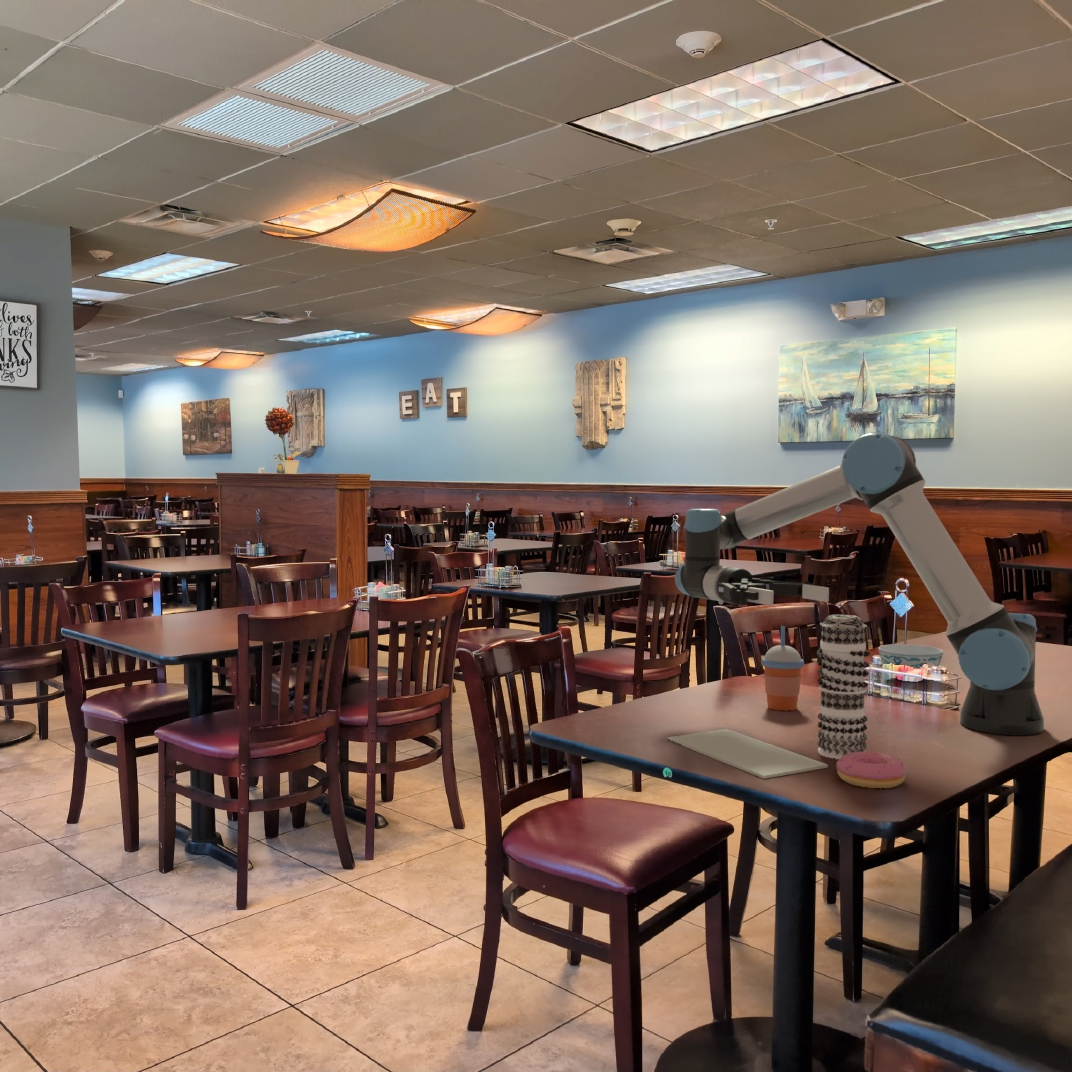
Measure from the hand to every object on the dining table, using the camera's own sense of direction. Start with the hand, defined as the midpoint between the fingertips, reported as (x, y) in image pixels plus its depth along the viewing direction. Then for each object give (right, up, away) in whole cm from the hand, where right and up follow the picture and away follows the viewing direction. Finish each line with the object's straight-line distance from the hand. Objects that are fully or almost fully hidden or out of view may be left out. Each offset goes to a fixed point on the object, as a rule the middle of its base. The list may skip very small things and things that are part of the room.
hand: (800, 596), depth 184 cm
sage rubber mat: (-12, -28, -7) cm, 31 cm away
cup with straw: (+4, -26, +28) cm, 39 cm away
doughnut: (+5, -29, -24) cm, 38 cm away
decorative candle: (+5, -28, -8) cm, 30 cm away
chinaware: (+43, -25, +59) cm, 77 cm away
